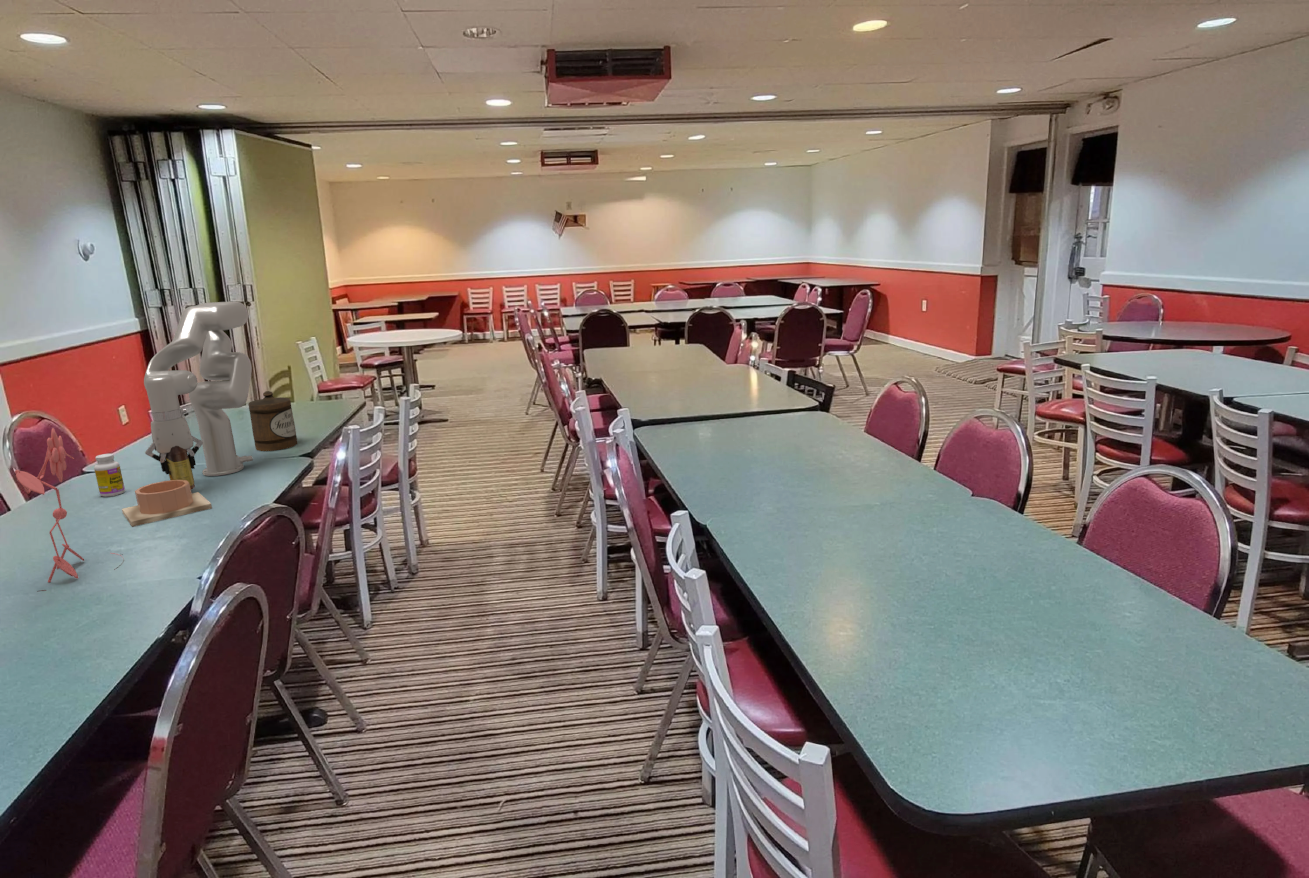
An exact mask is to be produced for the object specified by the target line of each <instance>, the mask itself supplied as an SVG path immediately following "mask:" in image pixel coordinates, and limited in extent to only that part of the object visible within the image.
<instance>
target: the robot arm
mask: <svg viewBox="0 0 1309 878" xmlns="http://www.w3.org/2000/svg"><path fill="white" fill-rule="evenodd" d="M181 313H182V314H181V315H180V318H179V321H178V324H177V327H176V330H175V333H174V336H173V339H172V341H171V342H170V343H167V345H165V346H164V347H162V348H161V349H160V350H159V351H158V352H156V353H155V355H153V357H152V358H151V359H150V361H149V362H148V365H147V368H146V370H145V374H144V378H143V385H144V388H145V390H146V393H147V399H148V403H149V407H150V410H151V411H150V412H151V414H152V415H151V416H152V419H153V420H152V421H151V422H150V430H151V431H150V433H151V439H152V443H151V444H150V445H149V446H148V447H147V449H146V450H145V451H144V454H145V455H147V456H148V457H150V458H152V459H154V460H155V461H158V462H159V463H160V468H161V471H162V472H163V473H165V475H169V469H168V465H167V462H166V460H165V457H166V453H169V452H170V450H171V448H172V447H175V446H179V447H181V448H183V449H186V450H187V454H188V456H189V460H190V465H191V469H192V470H194V469H195V466H196V465H197V464H196V459H195V458H196V457H195V456H196V454H197V452H198V451H199V449H200V448H201V447H202V450H203V456H204V460H205V465H206V468H204V469H203V470H202V472H201V473H202V475H203V476H207V477H218V476H224V475H230V474H234V473H237V472H240V471H242V470H244V468H245V467H244V463H246V462H247V463H248V462H252V461H254V457H253V456H252V455H242V456H239V455H237V450H236V446H235V445H236V444H235V440H234V433H233V429H232V423H231V420H230V417H229V416H228V415H227V413H226V412H225V411H224V409H225V410H226V409H227V410H228V409H229V410H230V409H240V408H242V407H244V406H245V405H246V404H247V401H248V396H249V390H250V385H251V384H250V383H251V378H252V370H253V368H252V362H251V360H250V358H249V356H248V355H247V354H245V353H243V352H240V351H239V352H238V351H236V352H234V351H232V348H233V342H232V340H231V338H230V337H229V336H228V335H227V333H226V332H224V331H228V330H232V329H236V328H240V327H242V326H244V325H245V324H246V323H247V322H248V318H249V312H248V309H247V307H246V305H245V304H243V303H242V302H240V301H219V302H218V301H216V302H215V301H214V302H212V301H211V302H204V303H199V304H197V305H192V306H191V305H190V306H188V307H186V308H185V309H183V311H182V312H181ZM200 353H201V358H200V363H199V374H200V376H201V377H202V379H204V380H207V381H200V382H198V378H197V376H196V375H195V374H194V373H193V371H190V370H185V369H180V370H178V369H177V370H170V369H171V368H173V367H175V365H177V364H179V363H181V362H185V361H186V360H189V359H191V358H193V357H195V356H198V355H199V354H200ZM187 394H188V398H189V401H190V404H191V406H192V408H193V411H194V414H195V416H196V421H197V425H198V431H199V435H200V439H199V438H196V437H195V436H193V435H192V432H191V430H190V427H189V424H188V422H187V419H186V417H185V416H183V414H187V413H188V412H187V409H186V408H181V405H180V401H179V398H178V397H179V395H180V396H181V395H187ZM172 433H173V435H172ZM194 442H195V445H194ZM153 451H155V452H157V453H158V454H155V453H154V452H153Z"/></svg>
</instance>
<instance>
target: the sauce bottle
mask: <svg viewBox="0 0 1309 878" xmlns="http://www.w3.org/2000/svg"><path fill="white" fill-rule="evenodd" d="M172 435H173V433H172ZM165 461H166V462H167V465H168V469H169V474H168V476H169V480H187V481H188V482H189V484H190V488H191V491H192V490H193V489H195V488H196V485H195V478H194V474H193V469H192V468H191V465H190V460H189V456H188V452H187V450H186V449H183V448H181V447H179V446H175V447H172V448H171V450H170V452H169V453H166V457H165Z"/></svg>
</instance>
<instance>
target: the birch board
mask: <svg viewBox="0 0 1309 878" xmlns="http://www.w3.org/2000/svg"><path fill="white" fill-rule="evenodd" d="M191 493H192V498H193V502H192V503H191V504H190V505H189V506H187V507H184V508H181V509H179V510H175V511H170V512H166V513H158V514H142V513H141V512H140V511H139V508H138V504H137V505H134V506H129V507H124V508H121V512H122V514H123V516H124V517H125V519H126V521H128V523H129V524H130V527H132V528H133V527H137V526H142V525H147V524H151V523H155V522H160V521H162V520H163V521H164V520H167V519H173V518H176V517H181V516H185V515H189V514H194V513H198V512H203V511H207V510H211V509H213V507H212V503H211V502H210V501H209V500H208V499H207V498H206V497H205V496H203V495H202V494H201V493H200V492H199V491H198V492H191Z"/></svg>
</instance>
